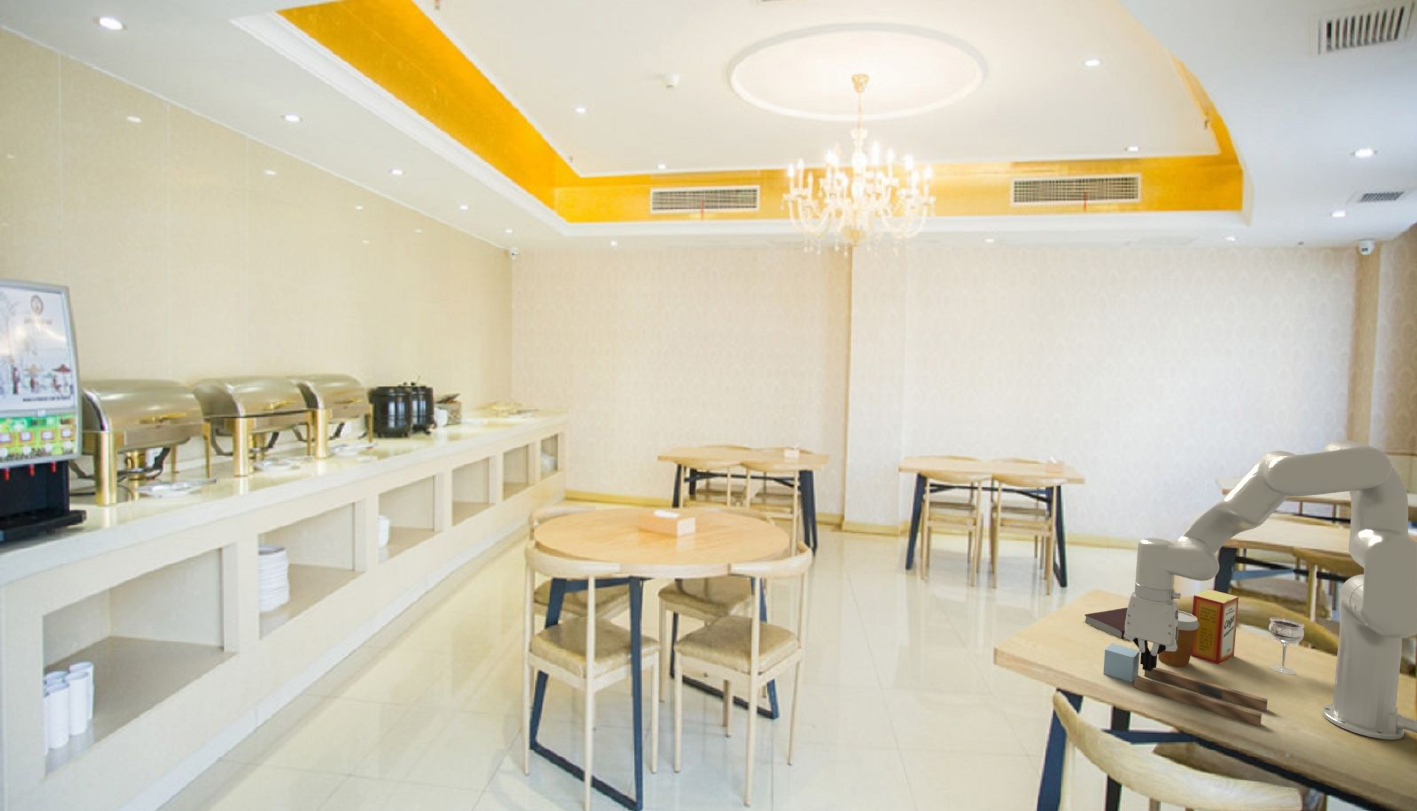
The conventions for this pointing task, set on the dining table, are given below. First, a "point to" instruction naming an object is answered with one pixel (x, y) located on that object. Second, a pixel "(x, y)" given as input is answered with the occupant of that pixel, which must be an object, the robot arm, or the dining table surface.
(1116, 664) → the block
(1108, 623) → the book
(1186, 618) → the disposable coffee cup
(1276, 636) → the wineglass
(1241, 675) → the dining table surface
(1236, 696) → the chute
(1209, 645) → the baking soda box
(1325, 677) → the dining table surface
